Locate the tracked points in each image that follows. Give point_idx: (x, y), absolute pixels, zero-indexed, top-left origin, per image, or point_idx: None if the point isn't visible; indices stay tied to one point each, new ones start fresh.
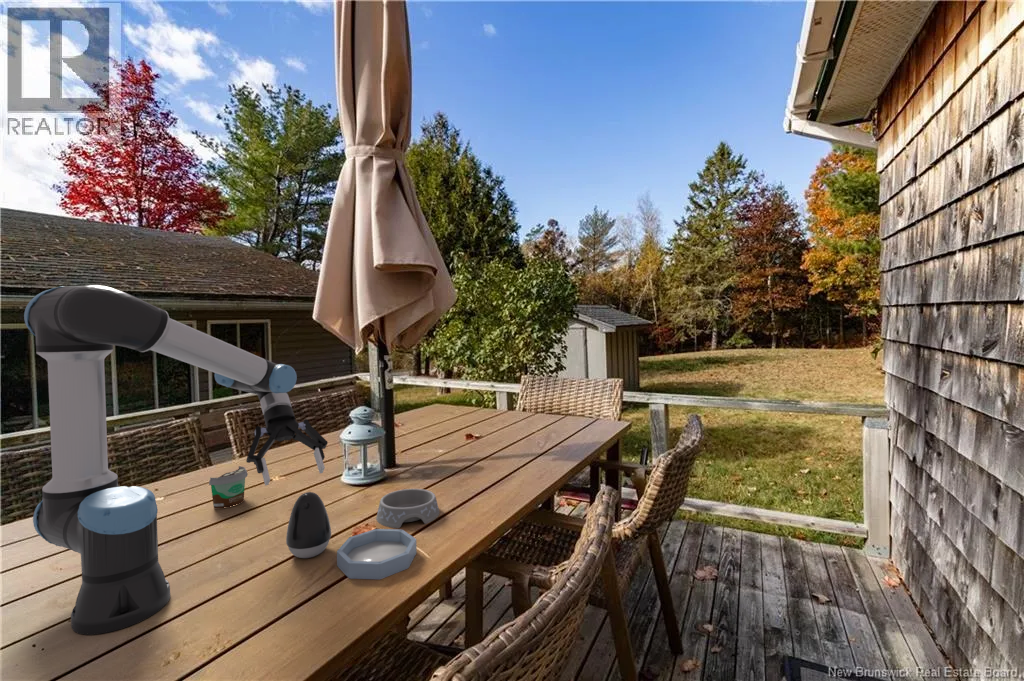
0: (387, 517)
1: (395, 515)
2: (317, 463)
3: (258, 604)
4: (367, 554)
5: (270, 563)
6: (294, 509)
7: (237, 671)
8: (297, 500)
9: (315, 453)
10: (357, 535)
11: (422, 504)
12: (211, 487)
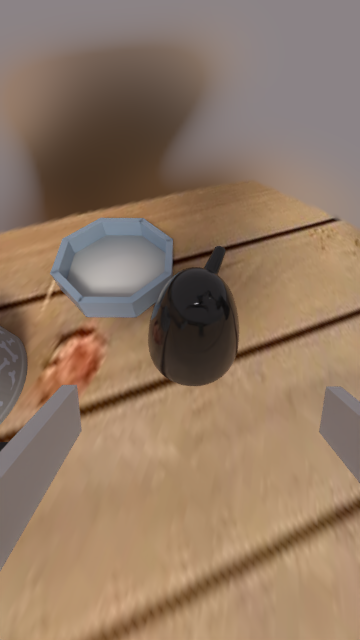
0: (12, 356)
1: (2, 337)
2: (54, 462)
3: (282, 271)
4: (126, 280)
5: (258, 364)
6: (233, 298)
7: (301, 202)
8: (227, 291)
9: (9, 509)
10: (117, 300)
11: None
12: None
